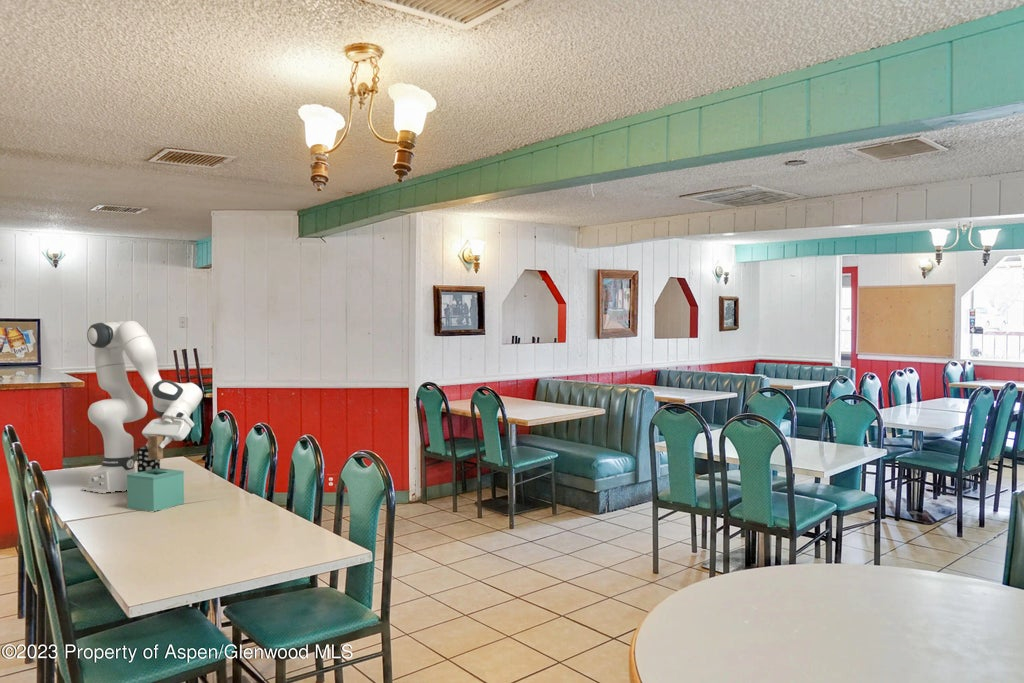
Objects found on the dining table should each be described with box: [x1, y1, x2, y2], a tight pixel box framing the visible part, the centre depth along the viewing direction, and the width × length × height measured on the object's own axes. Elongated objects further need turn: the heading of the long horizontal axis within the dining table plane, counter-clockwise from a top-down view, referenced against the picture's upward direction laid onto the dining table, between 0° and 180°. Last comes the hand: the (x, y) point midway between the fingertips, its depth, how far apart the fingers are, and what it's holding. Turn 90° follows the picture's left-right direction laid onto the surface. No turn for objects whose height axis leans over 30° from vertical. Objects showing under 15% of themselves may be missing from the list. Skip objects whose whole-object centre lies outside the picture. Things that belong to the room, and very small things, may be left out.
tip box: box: [126, 467, 185, 512], centre depth 283 cm, size 14×14×13 cm
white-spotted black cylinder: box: [136, 445, 161, 473], centre depth 300 cm, size 8×8×20 cm
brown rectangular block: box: [147, 435, 164, 461], centre depth 283 cm, size 5×2×9 cm, turn 66°
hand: (154, 446), depth 282 cm, fingers closed on brown rectangular block, 5 cm apart
